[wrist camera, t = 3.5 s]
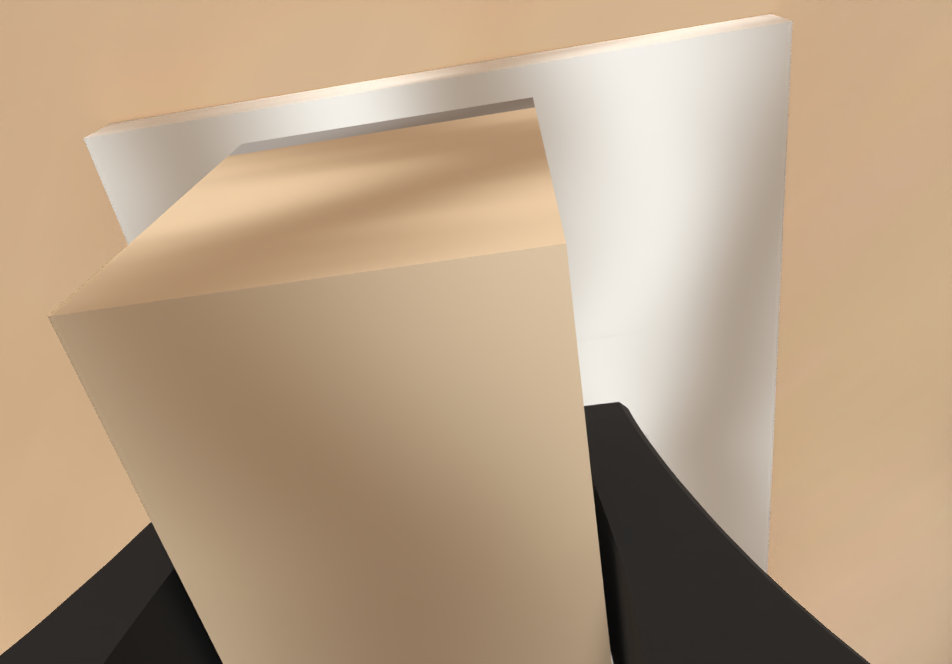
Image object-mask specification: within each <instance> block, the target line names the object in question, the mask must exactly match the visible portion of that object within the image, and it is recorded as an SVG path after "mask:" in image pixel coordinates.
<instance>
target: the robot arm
mask: <svg viewBox="0 0 952 664" xmlns="http://www.w3.org/2000/svg"><path fill="white" fill-rule="evenodd" d="M584 412H585V421H586V431H587V440H588V449H589V458H590V467H591V477H592V486H593V495H594V504H595V514H596V523H597V532H598V541H599V550H600V560H601V569H602V578H603V587H604V597H605V606H606V615H607V624H608V633H609V643H610V652H611V656H612V660H613V664H870V663H869V662H868V661H866V660H865V659H864V658H863V657H861V656H860V655H859V654H858V653H857V652H855V651H854V650H853V649H852V648H851V647H849V646H848V645H847V644H846V643H844V642H843V641H842V640H841V639H840V638H838V637H837V636H836V635H835V634H834V633H832V632H831V631H830V630H829V629H827V628H826V627H825V626H824V625H823V624H822V623H821V622H819V621H818V620H817V619H816V618H815V617H814V616H813V615H811V614H810V613H809V612H808V611H807V610H806V609H805V608H804V607H802V606H801V605H800V604H799V603H798V602H797V601H796V600H794V599H793V598H792V597H791V596H790V595H789V594H788V593H787V592H786V591H785V590H783V589H782V588H781V587H780V586H779V585H778V584H777V583H776V582H775V581H774V580H773V579H772V578H771V577H770V576H769V575H768V574H767V573H765V572H764V571H763V570H762V569H761V568H760V567H759V566H758V565H757V564H756V563H755V562H754V561H753V560H752V559H751V558H750V557H749V556H748V555H747V554H746V553H745V552H744V551H743V550H742V549H741V548H740V547H739V546H738V545H737V544H736V543H735V542H734V541H733V539H732V538H731V537H730V536H729V535H728V534H727V533H726V532H725V531H724V530H723V529H722V528H721V527H720V526H719V525H718V524H717V523H716V521H715V520H714V519H713V518H712V517H711V516H710V515H709V514H708V513H707V512H706V510H705V509H704V508H703V507H702V506H701V505H700V503H699V502H698V501H697V500H696V499H695V498H694V497H693V495H692V494H691V493H690V492H689V491H688V490H687V488H686V487H685V486H684V485H683V484H682V483H681V482H680V480H679V479H678V478H677V477H676V475H675V474H674V473H673V472H672V471H671V469H670V468H669V467H668V466H667V464H666V463H665V462H664V460H663V459H662V458H661V456H660V455H659V454H658V452H657V451H656V450H655V448H654V447H653V446H652V444H651V443H650V442H649V440H648V439H647V437H646V436H645V435H644V433H643V432H642V430H641V429H640V427H639V426H638V424H637V422H636V421H635V419H634V418H633V416H632V414H631V413H630V411H629V409H628V408H627V407H626V406H624V405H623V404H622V403H620V402H613V403H604V404H596V405H588V406H584ZM0 664H223V662H222V661H221V659H220V657H219V655H218V653H217V651H216V649H215V647H214V645H213V643H212V641H211V639H210V637H209V635H208V633H207V631H206V629H205V627H204V625H203V623H202V621H201V619H200V617H199V615H198V613H197V611H196V609H195V607H194V605H193V603H192V601H191V599H190V597H189V595H188V593H187V591H186V589H185V587H184V585H183V583H182V581H181V579H180V577H179V575H178V573H177V571H176V569H175V567H174V565H173V563H172V561H171V559H170V558H169V556H168V554H167V552H166V550H165V548H164V546H163V544H162V542H161V540H160V538H159V536H158V534H157V532H156V530H155V528H154V526H153V524H152V522H151V523H150V524H149V525H148V526H146V527H145V528H144V529H143V530H142V531H141V532H140V533H139V534H138V535H137V536H136V537H135V538H134V539H133V540H132V541H131V542H130V543H129V544H128V545H126V546H125V547H124V548H123V549H122V550H121V551H120V552H119V553H118V554H117V555H116V556H115V557H114V558H113V559H112V560H111V561H109V562H108V563H107V564H106V565H105V566H104V567H103V568H102V569H100V570H99V571H98V572H97V573H96V574H95V575H94V576H93V577H91V578H90V579H89V580H88V581H87V582H86V583H85V584H83V585H82V586H81V587H80V588H79V589H78V590H77V591H76V592H74V593H73V594H72V595H71V596H70V597H69V598H68V599H67V600H65V601H64V602H63V603H62V604H61V605H60V606H59V607H57V608H56V609H55V610H54V611H53V612H52V613H51V614H50V615H48V616H47V617H46V618H45V619H44V620H43V621H42V622H41V623H39V624H38V625H37V626H36V627H35V628H33V629H32V630H31V631H30V632H29V633H27V634H26V635H25V636H24V637H23V638H21V639H20V640H19V641H18V642H17V643H15V644H14V645H13V646H12V647H10V648H9V649H8V650H7V651H5V652H4V653H3V654H2V655H0Z"/></svg>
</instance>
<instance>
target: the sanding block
mask: <svg viewBox="0 0 952 664" xmlns="http://www.w3.org/2000/svg"><path fill="white" fill-rule="evenodd" d="M48 318H49V320H50V322H51V324H52V326H53V328H54V330H55V332H56V334H57V336H58V338H59V340H60V342H61V344H62V346H63V348H64V350H65V352H66V354H67V355H68V357H69V359H70V361H71V363H72V365H73V367H74V369H75V371H76V373H77V375H78V377H79V379H80V381H81V383H82V385H83V387H84V389H85V391H86V393H87V395H88V397H89V399H90V401H91V403H92V405H93V407H94V409H95V411H96V413H97V415H98V417H99V419H100V421H101V423H102V425H103V427H104V429H105V431H106V433H107V435H108V437H109V439H110V441H111V443H112V445H113V447H114V449H115V451H116V453H117V455H118V457H119V458H120V460H121V462H122V464H123V466H124V468H125V470H126V472H127V474H128V476H129V478H130V480H131V482H132V484H133V486H134V488H135V490H136V492H137V494H138V496H139V498H140V500H141V502H142V504H143V506H144V508H145V510H146V512H147V514H148V516H149V518H150V520H151V522H152V524H153V526H154V528H155V530H156V532H157V534H158V536H159V538H160V540H161V542H162V544H163V546H164V548H165V550H166V552H167V554H168V556H169V558H170V559H171V561H172V563H173V565H174V567H175V569H176V571H177V573H178V575H179V577H180V579H181V581H182V583H183V585H184V587H185V589H186V591H187V593H188V595H189V597H190V599H191V601H192V603H193V605H194V607H195V609H196V611H197V613H198V615H199V617H200V619H201V621H202V623H203V625H204V627H205V629H206V631H207V633H208V635H209V637H210V639H211V641H212V643H213V645H214V647H215V649H216V651H217V653H218V655H219V657H220V659H221V661H222V662H223V664H612V661H611V652H610V643H609V633H608V624H607V615H606V606H605V597H604V587H603V578H602V569H601V560H600V550H599V541H598V532H597V523H596V514H595V504H594V495H593V486H592V477H591V467H590V458H589V449H588V440H587V431H586V421H585V412H584V403H583V394H582V385H581V375H580V366H579V357H578V348H577V338H576V329H575V320H574V311H573V302H572V292H571V283H570V274H569V265H568V255H567V246H566V240H565V236H564V232H563V227H562V223H561V218H560V214H559V210H558V205H557V201H556V197H555V192H554V188H553V183H552V179H551V175H550V170H549V166H548V162H547V157H546V153H545V148H544V144H543V140H542V135H541V131H540V127H539V122H538V118H537V113H536V109H535V105H534V100H533V97H531V98H525V99H518V100H512V101H506V102H500V103H493V104H487V105H481V106H475V107H469V108H462V109H456V110H450V111H444V112H437V113H431V114H425V115H419V116H412V117H406V118H400V119H394V120H388V121H381V122H375V123H369V124H363V125H356V126H350V127H344V128H338V129H331V130H325V131H319V132H313V133H307V134H300V135H294V136H288V137H282V138H275V139H269V140H263V141H257V142H251V143H244V144H241V145H240V146H239V147H238V148H236V149H235V150H234V151H233V152H232V153H231V154H230V155H229V156H227V157H226V158H225V159H224V160H223V161H222V162H221V163H220V164H218V165H217V166H216V167H215V168H214V169H213V170H212V171H211V172H210V173H208V174H207V175H206V176H205V177H204V178H203V179H202V180H201V181H199V182H198V183H197V184H196V185H195V186H194V187H193V188H192V189H190V190H189V191H188V192H187V193H186V194H185V195H184V196H183V197H181V198H180V199H179V200H178V201H177V202H176V203H175V204H174V205H172V206H171V207H170V208H169V209H168V210H167V211H166V212H165V213H163V214H162V215H161V216H160V217H159V218H158V219H157V220H156V221H154V222H153V223H152V224H151V225H150V226H149V227H148V228H147V229H145V230H144V231H143V232H142V233H141V234H140V235H139V236H138V237H136V238H135V239H134V240H133V241H132V242H131V243H130V244H129V245H128V246H126V247H125V248H124V249H123V250H122V251H121V252H120V253H119V254H117V255H116V256H115V257H114V258H113V259H112V260H111V261H110V262H108V263H107V264H106V265H105V266H104V267H103V268H102V269H101V270H99V271H98V272H97V273H96V274H95V275H94V276H93V277H92V278H90V279H89V280H88V281H87V282H86V283H85V284H84V285H83V286H81V287H80V288H79V289H78V290H77V291H76V292H75V293H74V294H72V295H71V296H70V297H69V298H68V299H67V300H66V301H65V302H63V303H62V304H61V305H60V306H59V307H58V308H57V309H56V310H54V311H53V312H52V313H51V314H50V315H49V316H48Z"/></svg>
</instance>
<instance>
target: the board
mask: <svg viewBox="0 0 952 664" xmlns="http://www.w3.org/2000/svg"><path fill="white" fill-rule="evenodd" d="M791 43H792V21H791V20H788V19H785V18H782V17H779V16H776V15H773V14H767V15H761V16H755V17H749V18H743V19H737V20H731V21H725V22H719V23H713V24H707V25H701V26H695V27H689V28H683V29H677V30H671V31H665V32H659V33H653V34H647V35H641V36H635V37H629V38H623V39H617V40H611V41H605V42H599V43H593V44H587V45H581V46H575V47H569V48H563V49H557V50H551V51H545V52H539V53H533V54H527V55H521V56H515V57H509V58H503V59H497V60H491V61H485V62H479V63H473V64H467V65H461V66H455V67H449V68H443V69H437V70H431V71H425V72H419V73H413V74H407V75H401V76H395V77H389V78H383V79H377V80H371V81H365V82H359V83H353V84H347V85H341V86H335V87H329V88H323V89H317V90H311V91H305V92H299V93H293V94H287V95H281V96H275V97H269V98H263V99H257V100H251V101H245V102H239V103H233V104H227V105H221V106H215V107H209V108H203V109H197V110H191V111H185V112H179V113H173V114H167V115H161V116H155V117H149V118H143V119H137V120H131V121H125V122H119V123H113V124H109V125H107V126H105V127H104V128H102V129H100V130H98V131H96V132H94V133H92V134H90V135H89V136H87V137H85V138H84V141H85V143H86V145H87V148H88V150H89V152H90V155H91V157H92V159H93V162H94V164H95V167H96V169H97V171H98V174H99V176H100V178H101V181H102V183H103V186H104V188H105V190H106V193H107V195H108V197H109V200H110V202H111V205H112V207H113V209H114V212H115V214H116V216H117V219H118V221H119V223H120V226H121V228H122V231H123V233H124V235H125V238H126V240H127V242H128V245H129V244H130V243H131V242H132V241H133V240H134V239H135V238H136V237H138V236H139V235H140V234H141V233H142V232H143V231H144V230H145V229H147V228H148V227H149V226H150V225H151V224H152V223H153V222H154V221H156V220H157V219H158V218H159V217H160V216H161V215H162V214H163V213H165V212H166V211H167V210H168V209H169V208H170V207H171V206H172V205H174V204H175V203H176V202H177V201H178V200H179V199H180V198H181V197H183V196H184V195H185V194H186V193H187V192H188V191H189V190H190V189H192V188H193V187H194V186H195V185H196V184H197V183H198V182H199V181H201V180H202V179H203V178H204V177H205V176H206V175H207V174H208V173H210V172H211V171H212V170H213V169H214V168H215V167H216V166H217V165H218V164H220V163H221V162H222V161H223V160H224V159H225V158H226V157H227V156H229V155H230V154H231V153H232V152H233V151H234V150H235V149H236V148H238V147H239V146H240V145H241V144H244V143H251V142H257V141H263V140H269V139H275V138H282V137H288V136H294V135H300V134H307V133H313V132H319V131H325V130H331V129H338V128H344V127H350V126H356V125H363V124H369V123H375V122H381V121H388V120H394V119H400V118H406V117H412V116H419V115H425V114H431V113H437V112H444V111H450V110H456V109H462V108H469V107H475V106H481V105H487V104H493V103H500V102H506V101H512V100H518V99H525V98H531V97H533V100H534V105H535V109H536V113H537V118H538V122H539V127H540V131H541V135H542V140H543V144H544V148H545V153H546V157H547V162H548V166H549V170H550V175H551V179H552V183H553V188H554V192H555V197H556V201H557V205H558V210H559V214H560V218H561V223H562V227H563V232H564V236H565V240H566V246H567V255H568V265H569V274H570V283H571V292H572V302H573V311H574V320H575V329H576V338H577V348H578V357H579V366H580V375H581V385H582V394H583V403H584V406H588V405H596V404H604V403H613V402H620V403H622V404H623V405H624V406H626V407H627V408H628V409H629V411H630V413H631V414H632V416H633V418H634V419H635V421H636V422H637V424H638V426H639V427H640V429H641V430H642V432H643V433H644V435H645V436H646V437H647V439H648V440H649V442H650V443H651V444H652V446H653V447H654V448H655V450H656V451H657V452H658V454H659V455H660V456H661V458H662V459H663V460H664V462H665V463H666V464H667V466H668V467H669V468H670V469H671V471H672V472H673V473H674V474H675V475H676V477H677V478H678V479H679V480H680V482H681V483H682V484H683V485H684V486H685V487H686V488H687V490H688V491H689V492H690V493H691V494H692V495H693V497H694V498H695V499H696V500H697V501H698V502H699V503H700V505H701V506H702V507H703V508H704V509H705V510H706V512H707V513H708V514H709V515H710V516H711V517H712V518H713V519H714V520H715V521H716V523H717V524H718V525H719V526H720V527H721V528H722V529H723V530H724V531H725V532H726V533H727V534H728V535H729V536H730V537H731V538H732V539H733V541H734V542H735V543H736V544H737V545H738V546H739V547H740V548H741V549H742V550H743V551H744V552H745V553H746V554H747V555H748V556H749V557H750V558H751V559H752V560H753V561H754V562H755V563H756V564H757V565H758V566H759V567H760V568H761V569H762V570H763V571H764V572H765V573H767V568H768V546H769V524H770V502H771V481H772V459H773V437H774V415H775V393H776V371H777V349H778V327H779V305H780V284H781V262H782V240H783V218H784V196H785V174H786V152H787V130H788V109H789V87H790V65H791ZM611 661H612V664H613V660H612V656H611Z"/></svg>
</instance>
